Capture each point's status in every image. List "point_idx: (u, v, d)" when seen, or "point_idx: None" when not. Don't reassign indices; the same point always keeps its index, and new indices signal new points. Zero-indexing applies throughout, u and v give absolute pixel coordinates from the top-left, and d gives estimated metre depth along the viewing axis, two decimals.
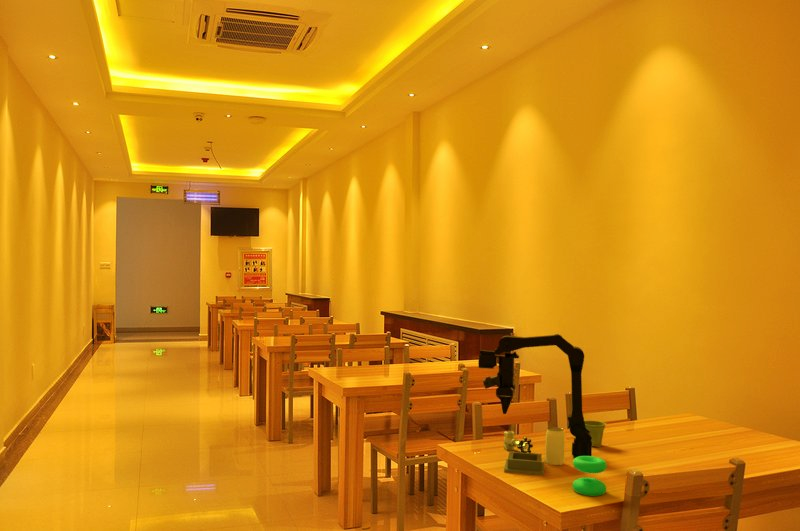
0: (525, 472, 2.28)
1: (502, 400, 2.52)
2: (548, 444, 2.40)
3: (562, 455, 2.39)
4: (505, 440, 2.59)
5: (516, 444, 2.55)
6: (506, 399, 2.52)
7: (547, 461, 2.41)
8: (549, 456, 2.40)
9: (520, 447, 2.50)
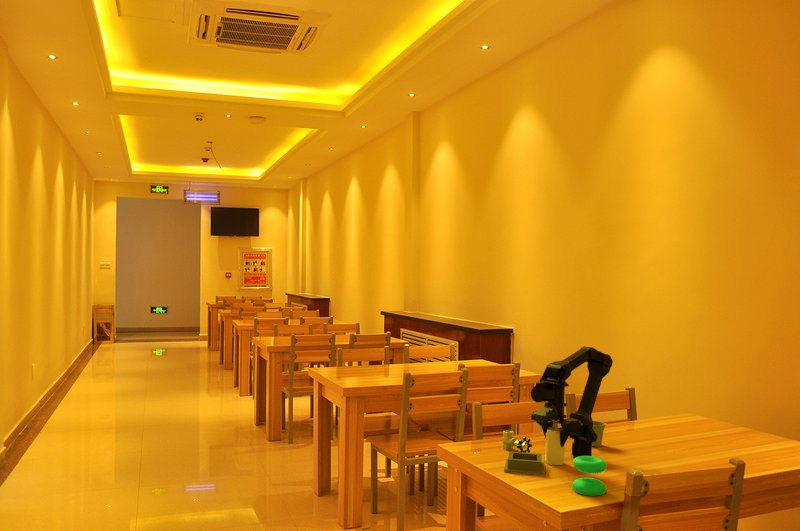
0: (525, 472, 2.28)
1: (563, 433, 2.38)
2: (548, 444, 2.40)
3: (562, 455, 2.39)
4: (504, 440, 2.59)
5: (515, 444, 2.56)
6: (566, 431, 2.39)
7: (547, 461, 2.41)
8: (549, 456, 2.40)
9: (519, 447, 2.51)
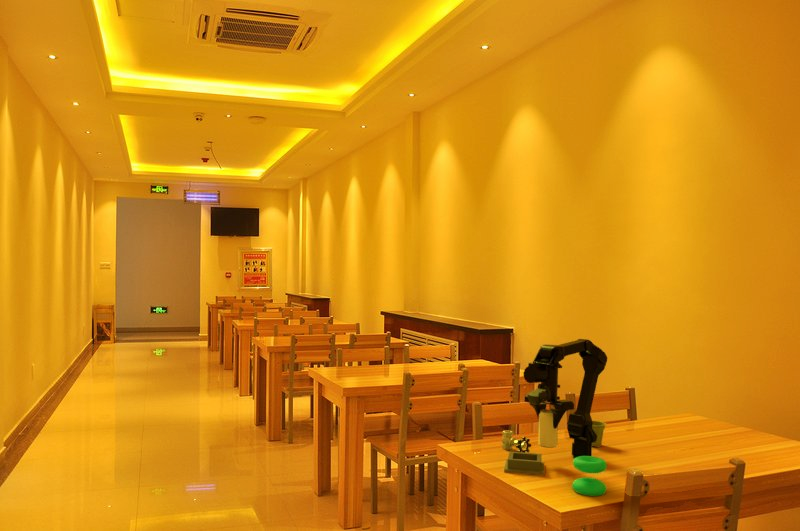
0: (525, 472, 2.28)
1: (557, 414, 2.36)
2: (541, 427, 2.38)
3: (555, 437, 2.37)
4: (503, 439, 2.60)
5: (514, 443, 2.56)
6: (559, 412, 2.37)
7: (540, 443, 2.38)
8: (542, 438, 2.38)
9: (519, 446, 2.51)
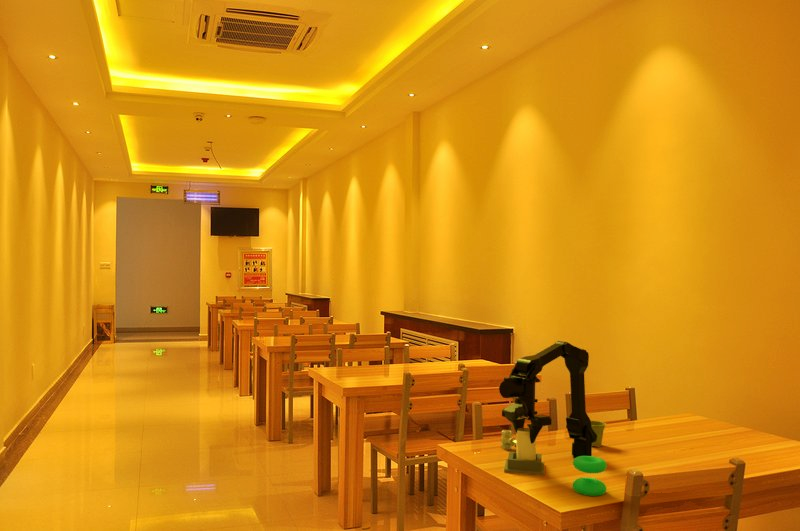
0: (525, 472, 2.28)
1: (533, 429, 2.30)
2: (519, 446, 2.32)
3: (534, 456, 2.32)
4: (502, 439, 2.60)
5: (513, 443, 2.56)
6: (536, 427, 2.31)
7: None
8: (521, 458, 2.32)
9: None
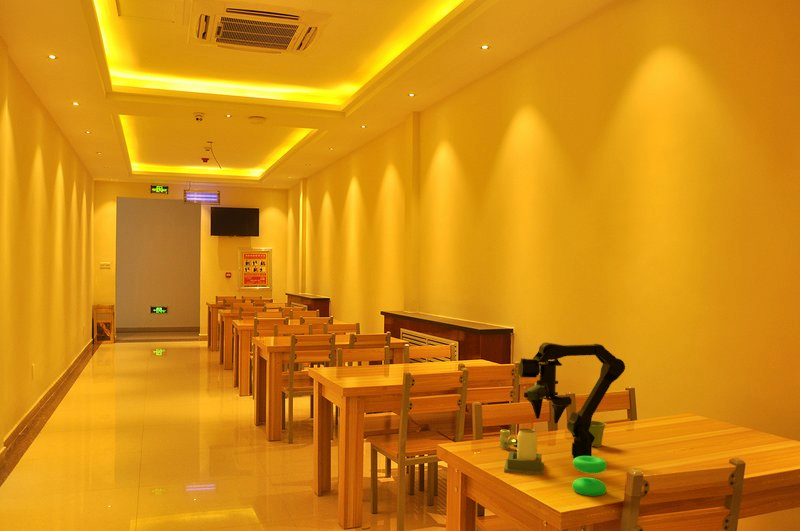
0: (525, 472, 2.28)
1: (557, 409, 2.45)
2: (521, 446, 2.32)
3: (534, 457, 2.32)
4: (501, 438, 2.61)
5: (512, 442, 2.57)
6: (560, 408, 2.46)
7: None
8: (521, 458, 2.32)
9: (516, 445, 2.53)
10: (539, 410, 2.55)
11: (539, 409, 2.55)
